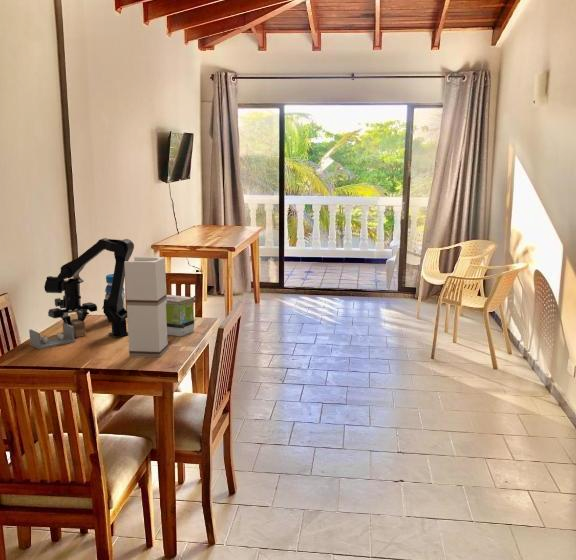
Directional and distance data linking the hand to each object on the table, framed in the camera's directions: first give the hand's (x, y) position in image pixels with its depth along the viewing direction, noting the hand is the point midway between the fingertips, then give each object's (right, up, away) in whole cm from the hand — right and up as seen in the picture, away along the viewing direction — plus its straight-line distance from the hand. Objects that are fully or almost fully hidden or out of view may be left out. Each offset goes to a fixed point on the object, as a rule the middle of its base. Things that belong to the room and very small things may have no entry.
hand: (74, 330), depth 259 cm
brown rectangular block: (0, -1, 0) cm, 1 cm away
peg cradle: (-4, -4, -13) cm, 14 cm away
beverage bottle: (+11, +3, +23) cm, 26 cm away
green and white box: (+40, -1, +2) cm, 40 cm away
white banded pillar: (+36, -6, -25) cm, 45 cm away
